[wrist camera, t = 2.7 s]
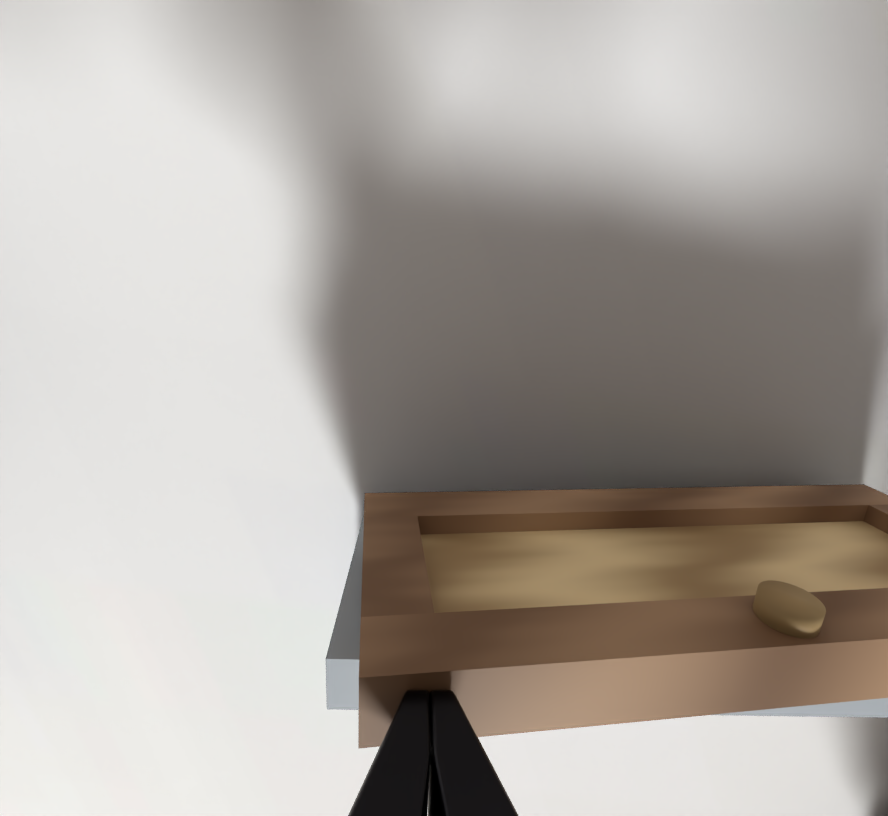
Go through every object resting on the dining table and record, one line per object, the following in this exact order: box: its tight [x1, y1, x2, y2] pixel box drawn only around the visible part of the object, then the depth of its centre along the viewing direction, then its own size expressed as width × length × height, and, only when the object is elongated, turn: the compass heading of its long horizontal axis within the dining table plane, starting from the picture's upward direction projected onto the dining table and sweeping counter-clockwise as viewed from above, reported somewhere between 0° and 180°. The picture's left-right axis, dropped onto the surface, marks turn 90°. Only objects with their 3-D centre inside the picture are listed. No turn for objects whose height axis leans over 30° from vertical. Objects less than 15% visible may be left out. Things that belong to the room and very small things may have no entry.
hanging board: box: [326, 516, 888, 718], centre depth 16 cm, size 20×6×8 cm, turn 87°
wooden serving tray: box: [359, 484, 888, 748], centre depth 13 cm, size 18×2×7 cm, turn 87°
